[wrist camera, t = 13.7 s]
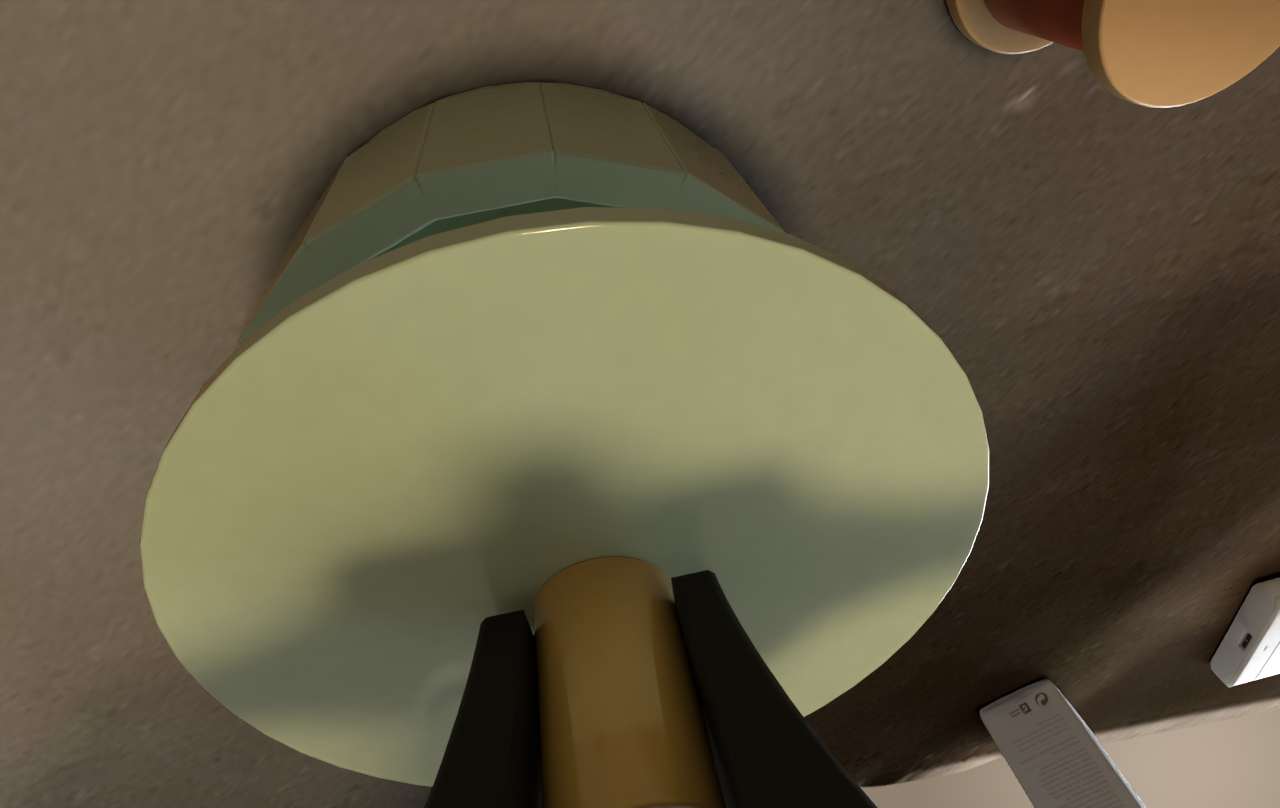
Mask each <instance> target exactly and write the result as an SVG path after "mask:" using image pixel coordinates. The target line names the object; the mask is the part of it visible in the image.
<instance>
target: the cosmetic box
mask: <svg viewBox="0 0 1280 808" xmlns="http://www.w3.org/2000/svg"><path fill="white" fill-rule="evenodd" d="M979 715H980V717H981V719H982V721H983V723H984V725H985V727H986V728H987V730H988V732H989V733H990V735H991V737H992V738H993V740H994V742H995V743H996V745H997V747H998V748H999V750H1000V751H1001V753H1002V755H1003V756H1004V758H1005V760H1006V761H1007V763H1008V765H1009V766H1010V768H1011V769H1012V771H1013V773H1014V774H1015V776H1016V778H1017V779H1018V781H1019V783H1020V784H1021V786H1022V787H1023V789H1024V791H1025V793H1026V794H1027V796H1028V797H1029V799H1030V801H1031V802H1032V804H1033V806H1034V808H1146V806H1145V805H1144V804H1143V802H1142V801H1141V799H1140V798H1139V797H1138V795H1137V794H1136V793H1135V791H1134V790H1133V788H1132V787H1131V786H1130V784H1129V783H1128V782H1127V780H1126V779H1125V777H1124V776H1123V775H1122V773H1121V772H1120V770H1119V769H1118V768H1117V766H1116V765H1115V764H1114V762H1113V761H1112V759H1111V758H1110V757H1109V755H1108V754H1107V752H1106V751H1105V750H1104V748H1103V747H1102V746H1101V744H1100V743H1099V741H1098V740H1097V739H1096V737H1095V736H1094V734H1093V733H1092V732H1091V730H1090V729H1089V727H1088V726H1087V725H1086V723H1085V722H1084V721H1083V719H1082V718H1081V717H1080V715H1079V714H1078V713H1077V711H1076V710H1075V709H1074V708H1073V707H1072V705H1071V704H1070V703H1069V702H1068V700H1067V699H1066V698H1065V697H1064V696H1063V695H1062V693H1061V692H1060V691H1059V690H1058V688H1057V687H1056V686H1055V685H1054V683H1053V682H1051V681H1050V680H1048V679H1045V680H1041V681H1038V682H1035V683H1033V684H1030V685H1028V686H1026V687H1023V688H1021V689H1019V690H1017V691H1015V692H1013V693H1011V694H1009V695H1007V696H1005V697H1003V698H1001V699H999V700H997V701H995V702H993V703H991V704H989V705H987V706H986V707H984V708H982V709H981V710H980V714H979Z"/></svg>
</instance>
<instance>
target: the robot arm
mask: <svg viewBox="0 0 1280 808" xmlns="http://www.w3.org/2000/svg"><path fill="white" fill-rule="evenodd" d="M671 581H672V587H673V594H674V600H675V605H676V610H677V614H678V618H679V622H680V626H681V630H682V634H683V638H684V643H685V647H686V651H687V655H688V659H689V662H690V665H691V669H692V672H693V675H694V679H695V682H696V686H697V690H698V694H699V698H700V702H701V706H702V711H703V715H704V719H705V723H706V727H707V731H708V735H709V739H710V743H711V747H712V752H713V756H714V760H715V764H716V768H717V772H718V776H719V780H720V784H721V788H722V792H723V796H724V800H725V803H726V806H727V808H877V807H876V805H875V804H874V803H873V802H872V801H871V800H870V798H869V797H868V796H867V795H866V794H865V793H864V791H863V790H862V789H861V788H860V787H859V786H858V785H857V783H856V782H855V781H854V780H853V779H852V777H851V776H850V775H849V774H848V773H847V771H846V770H845V769H844V768H843V767H842V765H841V764H840V763H839V762H838V760H837V759H836V758H835V757H834V755H833V754H832V753H831V752H830V750H829V749H828V748H827V747H826V745H825V744H824V743H823V742H822V740H821V739H820V738H819V736H818V735H817V734H816V732H815V731H814V730H813V729H812V727H811V726H810V725H809V723H808V722H807V721H806V720H805V718H804V717H803V715H802V714H801V713H800V711H799V710H798V709H797V707H796V706H795V705H794V703H793V702H792V701H791V699H790V698H789V696H788V695H787V693H786V692H785V691H784V689H783V688H782V686H781V685H780V683H779V682H778V680H777V679H776V678H775V676H774V675H773V673H772V672H771V670H770V669H769V667H768V666H767V665H766V663H765V662H764V660H763V659H762V657H761V656H760V654H759V652H758V651H757V649H756V648H755V646H754V645H753V643H752V641H751V640H750V638H749V636H748V635H747V633H746V632H745V630H744V628H743V627H742V625H741V623H740V622H739V620H738V618H737V616H736V615H735V613H734V611H733V609H732V607H731V606H730V604H729V602H728V600H727V598H726V596H725V594H724V592H723V590H722V588H721V586H720V584H719V582H718V579H717V577H716V575H715V573H713V572H711V571H709V570H705V571H700V572H696V573H691V574H686V575H682V576H677V577H672V578H671ZM425 808H542V791H541V771H540V750H539V729H538V709H537V687H536V667H535V646H534V635H533V633H532V630H531V628H530V625H529V622H528V620H527V617H526V615H525V612H524V610H519V611H514V612H509V613H505V614H500V615H495V616H491V617H486V618H485V619H484V620H483V621H482V622H481V624H480V629H479V634H478V639H477V643H476V648H475V652H474V656H473V660H472V664H471V668H470V672H469V675H468V679H467V683H466V686H465V689H464V693H463V696H462V700H461V703H460V706H459V710H458V713H457V716H456V719H455V722H454V725H453V728H452V731H451V734H450V738H449V741H448V744H447V747H446V750H445V753H444V756H443V759H442V762H441V765H440V768H439V770H438V773H437V776H436V779H435V781H434V784H433V787H432V789H431V792H430V794H429V797H428V800H427V802H426V805H425Z"/></svg>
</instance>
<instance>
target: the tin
mask: <svg viewBox="0 0 1280 808" xmlns="http://www.w3.org/2000/svg"><path fill="white" fill-rule="evenodd" d="M581 207H639V208H665V209H672V210H680V211H687V212H694V213H701V214H709V215H716V216H723V217H730V218H734V219H737V220H741V221H744V222H748V223H751V224H755V225H758V226H762V227H765V228H769V229H772V230H776V231H780V232H783V233H786V232H785V231H784V229H783V228H782V227H781V226H780V224H779V223H778V222H777V221H776V219H775V218H774V217H773V216H772V214H771V213H770V212H769V211H768V209H767V208H766V207H765V205H764V204H763V203H762V202H761V200H760V199H759V198H758V197H757V195H756V194H755V193H754V192H753V190H752V189H751V188H750V187H749V185H748V184H747V183H746V182H745V180H744V179H743V178H742V177H741V175H740V174H739V173H738V172H737V170H736V169H735V168H734V166H733V165H732V164H731V163H730V161H729V160H728V159H727V158H726V156H724V155H723V154H722V152H721V151H719V150H717V149H716V148H714V147H713V146H711V145H710V144H708V143H707V142H705V141H704V140H703V139H702V138H700V137H699V136H698V135H697V134H695V133H694V132H692V131H691V130H689V129H688V128H686V127H685V126H683V125H682V124H680V123H679V122H677V121H676V120H674V119H673V118H672V117H670V116H668V115H666V114H664V113H662V112H660V111H657V110H655V109H654V108H652V107H651V106H649V105H647V104H646V103H642V102H640V101H636V100H633V99H630V98H627V97H624V96H621V95H618V94H614V93H611V92H608V91H605V90H601V89H596V88H590V87H584V86H578V85H572V84H567V83H544V82H543V83H542V82H522V83H513V84H503V85H494V86H486V87H482V88H479V89H475V90H471V91H467V92H463V93H459V94H455V95H451V96H448V97H446V98H443V99H441V100H437V101H435V102H434V103H431V104H429V105H427V106H424V107H422V108H419V109H417V110H415V111H413V112H411V113H409V114H408V115H406V116H404V117H403V118H401V119H400V120H398V121H396V122H395V123H393V124H391V125H390V126H388V127H386V128H385V129H383V130H381V131H380V132H379V133H378V134H377V135H376V136H374V137H373V138H372V139H371V140H370V141H368V142H367V143H366V144H365V145H364V146H362V147H361V148H360V149H358V150H357V151H355V152H353V153H352V154H351V155H350V156H349V157H347V158H346V159H345V160H344V162H343V163H342V165H341V166H340V168H339V169H338V171H337V172H336V174H335V175H334V177H333V178H332V179H331V181H330V182H329V184H328V186H327V187H326V189H325V191H324V192H323V194H322V195H321V197H320V198H319V200H318V201H317V203H316V204H315V206H314V207H313V209H312V210H311V212H310V213H309V215H308V216H307V218H306V219H305V221H304V222H303V224H302V226H301V227H300V229H299V230H298V232H297V233H296V235H295V237H294V239H293V241H292V242H291V244H290V246H289V248H288V250H287V252H286V253H285V255H284V257H283V259H282V261H281V262H280V264H279V266H278V268H277V270H276V272H275V273H274V275H273V277H272V279H271V281H270V283H269V284H268V286H267V288H266V290H265V292H264V293H263V295H262V297H261V299H260V301H259V303H258V304H257V306H256V308H255V310H254V312H253V313H252V315H251V317H250V319H249V321H248V323H247V324H246V326H245V328H244V330H243V332H242V333H241V335H240V339H239V343H238V346H239V345H240V344H241V343H242V342H243V341H244V340H245V339H246V338H248V337H249V336H250V335H251V334H253V333H254V332H255V331H257V330H258V329H259V328H260V327H262V326H263V325H264V324H266V323H267V322H268V321H269V320H271V319H272V318H273V317H274V316H276V315H277V314H278V313H280V312H281V311H282V310H283V309H285V308H286V307H287V306H289V305H290V304H291V303H292V302H294V301H295V300H296V299H298V298H299V297H301V296H303V295H305V294H307V293H308V292H310V291H312V290H314V289H315V288H317V287H319V286H321V285H323V284H324V283H326V282H328V281H330V280H331V279H333V278H335V277H337V276H339V275H340V274H342V273H344V272H346V271H347V270H349V269H351V268H353V267H354V266H356V265H358V264H360V263H362V262H365V261H367V260H370V259H372V258H375V257H377V256H380V255H383V254H385V253H388V252H390V251H393V250H395V249H398V248H400V247H403V246H405V245H408V244H410V243H413V242H415V241H418V240H420V239H423V238H426V237H428V236H431V235H435V234H439V233H443V232H447V231H450V230H454V229H458V228H462V227H466V226H470V225H474V224H478V223H482V222H486V221H490V220H494V219H498V218H502V217H506V216H514V215H523V214H531V213H539V212H547V211H556V210H564V209H572V208H581Z"/></svg>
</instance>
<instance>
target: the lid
mask: <svg viewBox="0 0 1280 808" xmlns="http://www.w3.org/2000/svg"><path fill="white" fill-rule="evenodd" d="M988 489H989V445H988V440H987V435H986V430H985V425H984V420H983V415H982V410H981V408H980V406H979V403H978V401H977V399H976V396H975V394H974V392H973V389H972V387H971V385H970V382H969V380H968V378H967V375H966V373H965V372H964V370H963V369H962V367H961V366H960V365H959V363H958V362H957V360H956V359H955V357H954V356H953V355H952V353H951V352H950V350H949V349H948V347H947V346H946V345H945V343H944V342H943V340H942V339H941V337H940V336H939V335H938V334H937V333H936V332H935V331H934V330H933V329H932V328H931V327H930V326H929V325H928V324H927V323H926V322H925V321H924V320H923V319H922V318H921V317H920V316H919V315H918V314H917V313H916V312H915V311H914V310H913V309H912V308H911V307H910V306H909V305H908V304H906V303H905V302H904V301H903V300H902V299H901V298H900V297H899V296H898V295H897V294H896V293H895V292H894V291H893V290H892V289H890V288H889V287H887V286H886V285H884V284H883V283H881V282H880V281H878V280H877V279H875V278H874V277H872V276H871V275H869V274H868V273H866V272H865V271H863V270H862V269H860V268H859V267H857V266H856V265H854V264H853V263H851V262H850V261H848V260H847V259H844V258H842V257H840V256H838V255H835V254H833V253H831V252H829V251H827V250H824V249H822V248H820V247H818V246H816V245H813V244H811V243H809V242H807V241H804V240H802V239H800V238H798V237H796V236H793V235H790V234H787V233H783V232H780V231H776V230H772V229H769V228H765V227H762V226H758V225H755V224H751V223H748V222H744V221H741V220H737V219H734V218H730V217H723V216H716V215H709V214H701V213H694V212H687V211H680V210H672V209H665V208H639V207H581V208H572V209H564V210H556V211H547V212H539V213H531V214H523V215H514V216H506V217H502V218H498V219H494V220H490V221H486V222H482V223H478V224H474V225H470V226H466V227H462V228H458V229H454V230H450V231H447V232H443V233H439V234H435V235H431V236H428V237H426V238H423V239H420V240H418V241H415V242H413V243H410V244H408V245H405V246H403V247H400V248H398V249H395V250H393V251H390V252H388V253H385V254H383V255H380V256H377V257H375V258H372V259H370V260H367V261H365V262H362V263H360V264H358V265H356V266H354V267H353V268H351V269H349V270H347V271H346V272H344V273H342V274H340V275H339V276H337V277H335V278H333V279H331V280H330V281H328V282H326V283H324V284H323V285H321V286H319V287H317V288H315V289H314V290H312V291H310V292H308V293H307V294H305V295H303V296H301V297H299V298H298V299H296V300H295V301H294V302H292V303H291V304H290V305H289V306H287V307H286V308H285V309H283V310H282V311H281V312H280V313H278V314H277V315H276V316H274V317H273V318H272V319H271V320H269V321H268V322H267V323H266V324H264V325H263V326H262V327H260V328H259V329H258V330H257V331H255V332H254V333H253V334H251V335H250V336H249V337H248V338H246V339H245V340H244V341H243V342H242V343H241V344H240V345H239V346H238V348H237V349H236V350H235V351H234V352H233V353H232V354H231V355H230V356H229V357H228V358H227V359H226V361H225V362H224V363H223V364H222V365H221V366H220V367H219V368H218V369H217V370H216V371H215V373H214V374H213V375H212V376H211V377H210V378H209V379H208V380H207V381H206V382H205V383H204V385H203V386H202V388H201V389H200V391H199V393H198V394H197V396H196V397H195V399H194V400H193V402H192V404H191V405H190V407H189V408H188V410H187V412H186V413H185V415H184V416H183V418H182V420H181V421H180V423H179V424H178V426H177V428H176V429H175V431H174V432H173V434H172V436H171V438H170V439H169V441H168V443H167V445H166V446H165V448H164V450H163V452H162V455H161V458H160V460H159V463H158V466H157V468H156V471H155V474H154V477H153V479H152V482H151V485H150V487H149V490H148V493H147V495H146V500H145V507H144V515H143V522H142V530H141V537H140V548H141V559H142V569H143V579H144V587H145V590H146V593H147V596H148V599H149V602H150V605H151V608H152V611H153V614H154V617H155V620H156V623H157V625H158V627H159V629H160V630H161V632H162V634H163V635H164V637H165V639H166V641H167V642H168V644H169V646H170V648H171V649H172V651H173V653H174V654H175V656H176V658H177V659H178V660H179V661H180V663H181V664H182V665H183V666H184V667H185V668H186V670H187V671H188V672H189V673H190V674H191V676H192V677H193V678H194V679H195V680H196V681H197V683H198V684H199V685H200V686H201V687H202V688H203V689H204V690H205V691H206V692H207V693H209V694H210V695H211V696H212V697H213V698H214V699H216V700H217V701H218V702H219V703H220V704H221V705H223V706H224V707H225V708H226V709H227V710H228V711H230V712H231V713H232V714H234V715H235V716H237V717H238V718H240V719H241V720H243V721H244V722H246V723H247V724H249V725H250V726H252V727H254V728H255V729H257V730H258V731H260V732H261V733H263V734H264V735H266V736H268V737H270V738H272V739H274V740H276V741H278V742H280V743H282V744H284V745H286V746H288V747H290V748H292V749H294V750H296V751H298V752H300V753H303V754H306V755H308V756H311V757H314V758H316V759H319V760H322V761H324V762H327V763H330V764H332V765H335V766H338V767H341V768H345V769H348V770H352V771H355V772H359V773H363V774H366V775H370V776H373V777H377V778H383V779H388V780H393V781H398V782H403V783H408V784H414V785H421V786H429V787H433V784H434V781H435V779H436V776H437V773H438V770H439V768H440V765H441V762H442V759H443V756H444V753H445V750H446V747H447V744H448V741H449V738H450V734H451V731H452V728H453V725H454V722H455V719H456V716H457V713H458V710H459V706H460V703H461V700H462V696H463V693H464V689H465V686H466V683H467V679H468V675H469V672H470V668H471V664H472V660H473V656H474V652H475V648H476V643H477V639H478V634H479V629H480V624H481V622H482V621H483V620H484V619H485V618H486V617H491V616H495V615H500V614H505V613H509V612H514V611H519V610H524V612H525V615H526V617H527V620H528V622H529V625H530V628H531V630H532V633H533V635H534V646H535V667H536V687H537V709H538V729H539V750H540V771H541V791H542V808H726V805H725V801H724V797H723V792H722V788H721V784H720V780H719V776H718V772H717V768H716V764H715V760H714V756H713V752H712V747H711V743H710V739H709V735H708V731H707V727H706V723H705V719H704V715H703V711H702V706H701V702H700V698H699V694H698V690H697V686H696V682H695V679H694V675H693V672H692V669H691V665H690V662H689V659H688V655H687V651H686V647H685V643H684V638H683V634H682V630H681V626H680V622H679V618H678V614H677V610H676V605H675V600H674V594H673V587H672V581H671V578H672V577H677V576H682V575H686V574H691V573H696V572H700V571H705V570H709V571H711V572H713V573H715V575H716V577H717V579H718V582H719V584H720V586H721V588H722V590H723V592H724V594H725V596H726V598H727V600H728V602H729V604H730V606H731V607H732V609H733V611H734V613H735V615H736V616H737V618H738V620H739V622H740V623H741V625H742V627H743V628H744V630H745V632H746V633H747V635H748V636H749V638H750V640H751V641H752V643H753V645H754V646H755V648H756V649H757V651H758V652H759V654H760V656H761V657H762V659H763V660H764V662H765V663H766V665H767V666H768V667H769V669H770V670H771V672H772V673H773V675H774V676H775V678H776V679H777V680H778V682H779V683H780V685H781V686H782V688H783V689H784V691H785V692H786V693H787V695H788V696H789V698H790V699H791V701H792V702H793V703H794V705H795V706H796V707H797V709H798V710H799V711H800V713H801V714H802V715H803V717H805V716H807V715H808V714H810V713H812V712H814V711H816V710H817V709H819V708H821V707H823V706H824V705H826V704H827V703H829V702H831V701H832V700H834V699H835V698H837V697H838V696H840V695H841V694H843V693H844V692H846V691H847V690H849V689H850V688H852V687H853V686H855V685H856V684H857V683H859V682H860V681H861V680H863V679H864V678H865V677H866V676H868V675H869V674H870V673H872V672H873V671H874V670H876V669H877V668H878V667H879V666H881V665H882V664H883V663H884V662H885V661H887V660H888V659H889V658H890V657H891V656H892V655H893V654H894V653H895V652H896V651H897V650H898V649H900V648H901V647H902V646H903V645H904V644H905V643H906V642H907V641H908V640H909V639H910V638H911V637H912V636H913V635H914V634H915V633H916V631H917V630H918V629H919V628H920V627H921V626H922V625H923V624H924V623H925V621H926V620H927V619H928V618H929V617H930V616H931V615H932V614H933V612H934V611H935V610H936V608H937V607H938V605H939V604H940V603H941V601H942V600H943V598H944V597H945V596H946V594H947V593H948V591H949V590H950V589H951V587H952V586H953V584H954V583H955V581H956V579H957V577H958V575H959V573H960V572H961V570H962V568H963V566H964V564H965V562H966V560H967V559H968V557H969V555H970V553H971V550H972V548H973V545H974V542H975V539H976V537H977V534H978V531H979V528H980V526H981V523H982V520H983V515H984V510H985V505H986V499H987V494H988Z"/></svg>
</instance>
